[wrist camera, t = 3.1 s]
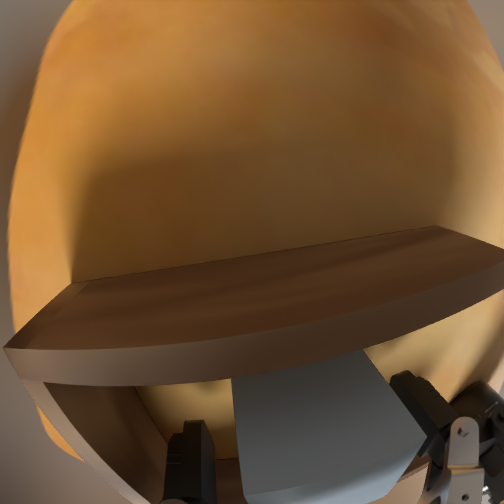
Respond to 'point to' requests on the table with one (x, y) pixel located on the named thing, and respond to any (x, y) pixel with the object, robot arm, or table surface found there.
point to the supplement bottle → (478, 409)
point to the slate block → (322, 433)
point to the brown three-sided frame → (230, 335)
